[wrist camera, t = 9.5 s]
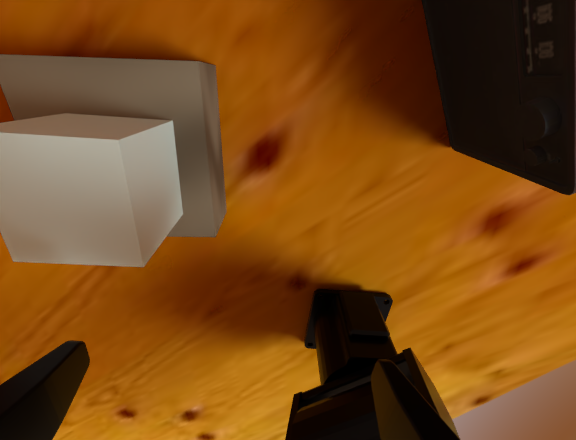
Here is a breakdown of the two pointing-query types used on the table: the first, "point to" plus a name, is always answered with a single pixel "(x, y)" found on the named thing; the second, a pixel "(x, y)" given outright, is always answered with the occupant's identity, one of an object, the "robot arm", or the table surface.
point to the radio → (509, 84)
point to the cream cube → (87, 188)
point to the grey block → (135, 114)
